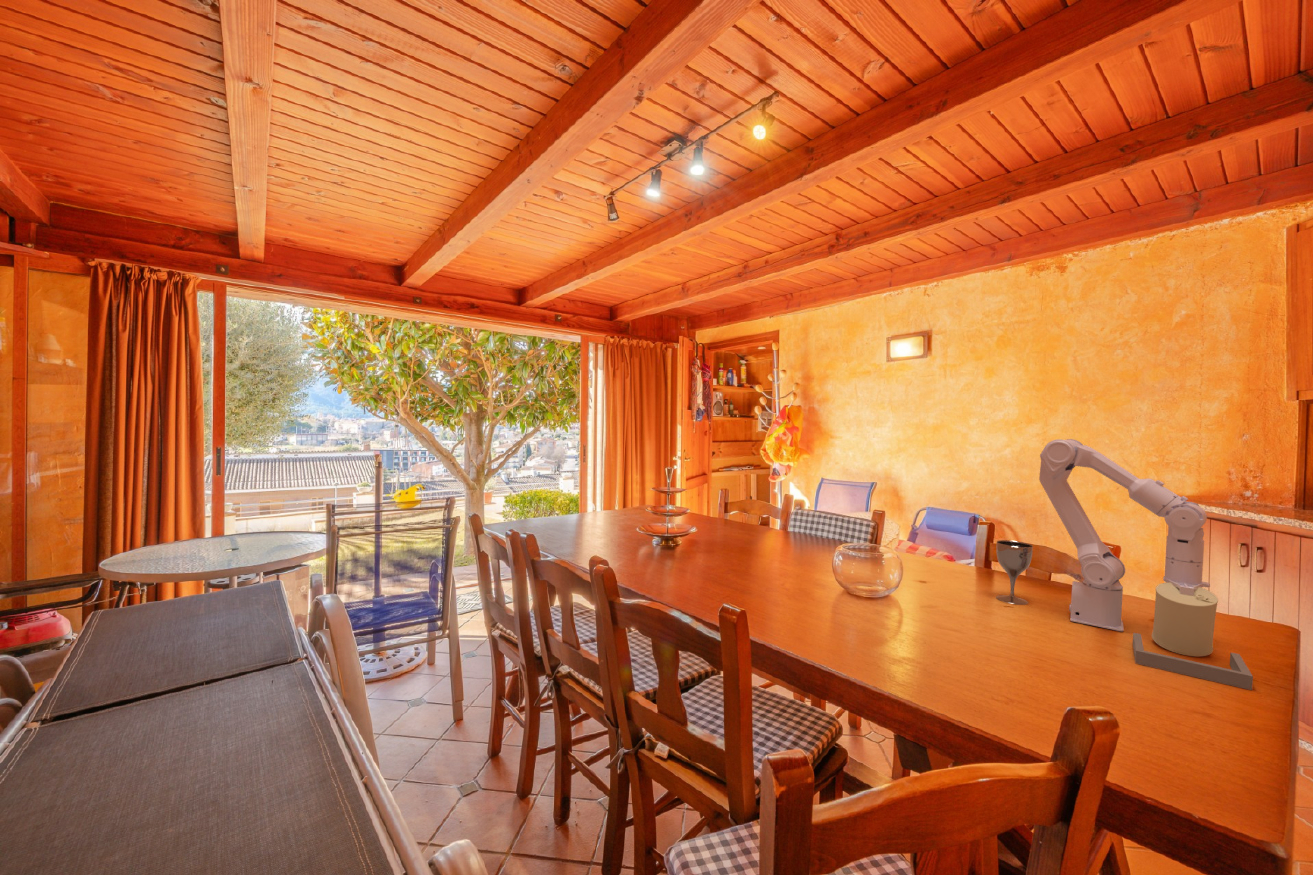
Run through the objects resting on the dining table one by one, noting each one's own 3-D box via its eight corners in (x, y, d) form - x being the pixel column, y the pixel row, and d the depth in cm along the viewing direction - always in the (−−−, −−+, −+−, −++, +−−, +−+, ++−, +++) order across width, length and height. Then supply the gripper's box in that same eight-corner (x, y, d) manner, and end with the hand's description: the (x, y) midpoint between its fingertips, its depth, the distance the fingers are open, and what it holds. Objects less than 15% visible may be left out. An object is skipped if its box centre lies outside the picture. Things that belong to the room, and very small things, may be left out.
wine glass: (1031, 607, 135) (1034, 548, 135) (994, 601, 140) (996, 544, 139) (1029, 598, 142) (1031, 542, 142) (993, 593, 146) (996, 538, 146)
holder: (1135, 663, 104) (1135, 650, 104) (1132, 644, 114) (1133, 632, 114) (1251, 690, 95) (1252, 676, 94) (1238, 666, 104) (1239, 654, 104)
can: (1201, 662, 106) (1206, 609, 103) (1142, 640, 114) (1146, 590, 111) (1221, 644, 110) (1227, 592, 107) (1163, 624, 118) (1167, 575, 115)
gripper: (1216, 569, 106) (1213, 637, 107) (1205, 556, 118) (1202, 617, 118) (1167, 563, 111) (1164, 627, 111) (1161, 550, 122) (1158, 609, 122)
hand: (1180, 622), depth 115 cm, fingers closed, pressing on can
